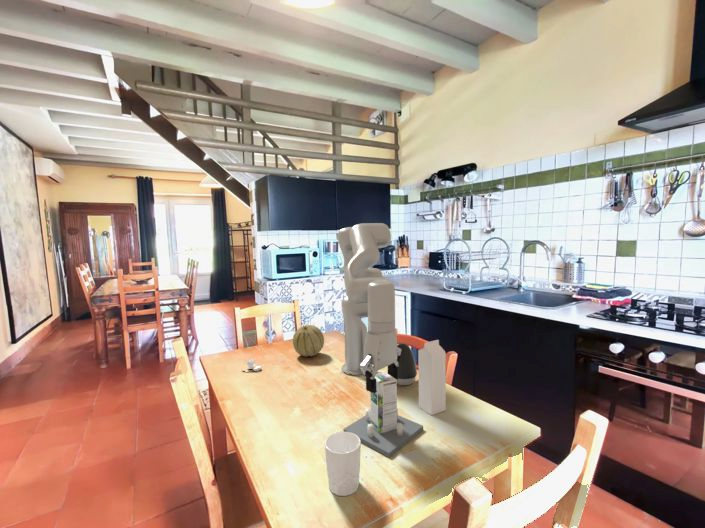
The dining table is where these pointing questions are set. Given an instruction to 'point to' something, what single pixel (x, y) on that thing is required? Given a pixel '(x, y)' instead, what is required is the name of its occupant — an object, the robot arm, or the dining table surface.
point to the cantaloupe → (308, 340)
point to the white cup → (343, 462)
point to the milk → (432, 378)
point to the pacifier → (251, 365)
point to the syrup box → (384, 403)
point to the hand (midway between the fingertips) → (382, 385)
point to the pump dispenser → (406, 366)
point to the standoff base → (384, 434)
